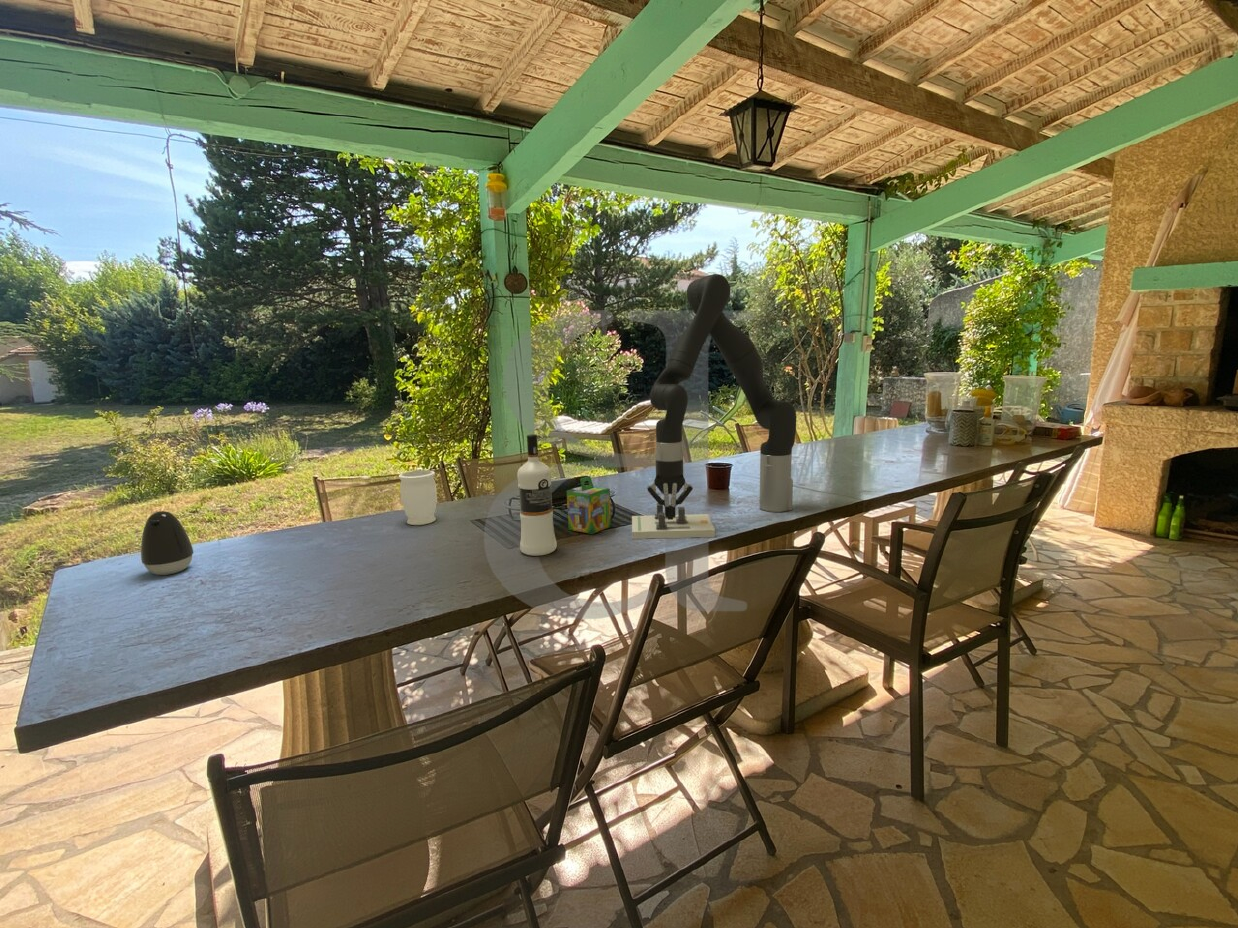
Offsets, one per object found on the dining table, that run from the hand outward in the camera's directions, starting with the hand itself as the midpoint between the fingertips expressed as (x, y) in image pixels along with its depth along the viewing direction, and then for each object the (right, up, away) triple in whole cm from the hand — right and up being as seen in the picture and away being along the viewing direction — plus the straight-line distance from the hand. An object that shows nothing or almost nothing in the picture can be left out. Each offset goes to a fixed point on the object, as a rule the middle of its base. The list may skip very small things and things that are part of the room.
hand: (670, 518), depth 169 cm
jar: (-74, -2, +16) cm, 76 cm away
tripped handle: (+3, -1, 0) cm, 3 cm away
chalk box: (-22, -3, +4) cm, 23 cm away
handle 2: (-3, -2, -5) cm, 6 cm away
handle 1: (-3, 0, +5) cm, 6 cm away
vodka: (-35, -7, -13) cm, 38 cm away
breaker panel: (+1, -3, 0) cm, 3 cm away
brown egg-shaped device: (-124, -11, -20) cm, 126 cm away
